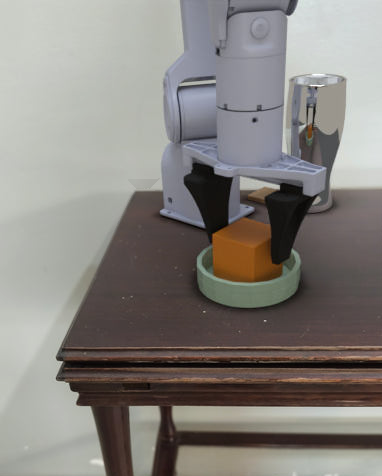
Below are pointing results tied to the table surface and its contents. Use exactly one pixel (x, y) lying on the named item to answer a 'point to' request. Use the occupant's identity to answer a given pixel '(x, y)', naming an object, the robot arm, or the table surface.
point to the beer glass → (316, 124)
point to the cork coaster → (260, 194)
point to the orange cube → (244, 253)
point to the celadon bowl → (247, 284)
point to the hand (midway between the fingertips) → (248, 250)
